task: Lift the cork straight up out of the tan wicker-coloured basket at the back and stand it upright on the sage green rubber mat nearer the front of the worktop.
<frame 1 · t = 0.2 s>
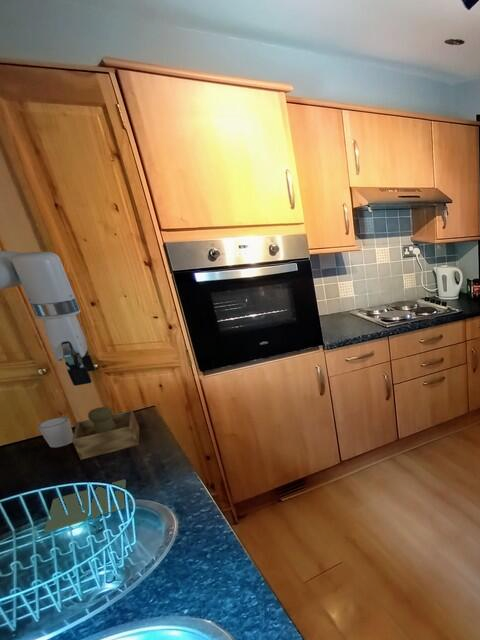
hand: (85, 377, 109), 29 cm above the worktop, tool pointing down, fingers open, 9 cm apart
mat: (88, 504, 110), on the worktop
grey cup: (62, 443, 137), on the worktop
basket: (111, 442, 137), on the worktop
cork: (111, 442, 136), resting on basket
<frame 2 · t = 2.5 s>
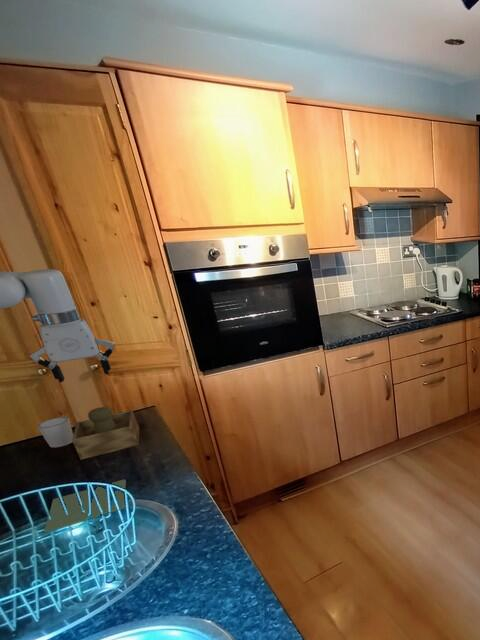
hand: (85, 376, 127), 22 cm above the worktop, tool pointing down, fingers open, 9 cm apart
nothing on the worktop moved.
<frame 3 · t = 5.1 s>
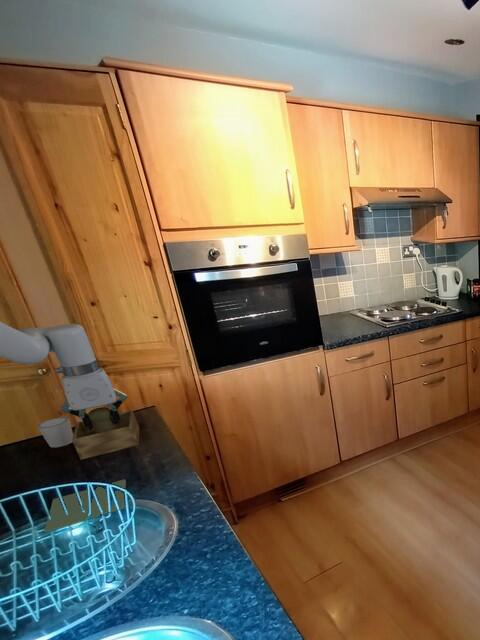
hand: (104, 424, 134), 6 cm above the worktop, tool pointing down, fingers closed on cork, 5 cm apart
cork: (111, 442, 136), resting on basket, touching gripper
everything else where it was.
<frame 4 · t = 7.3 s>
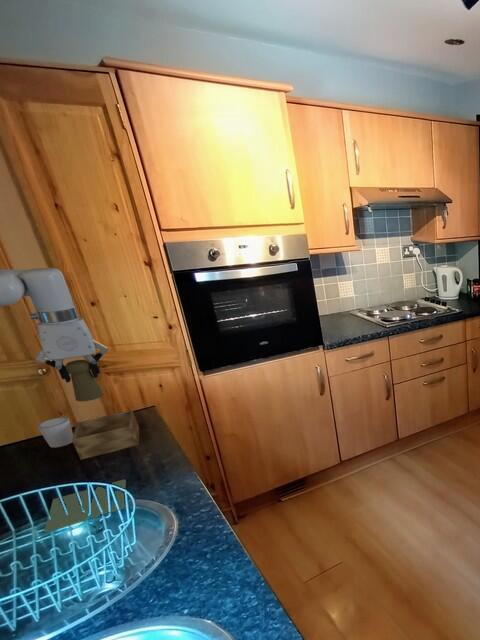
hand: (82, 377, 127), 22 cm above the worktop, tool pointing down, fingers closed on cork, 5 cm apart
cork: (90, 397, 130), point 15 cm above the worktop, touching gripper
everything else where it was.
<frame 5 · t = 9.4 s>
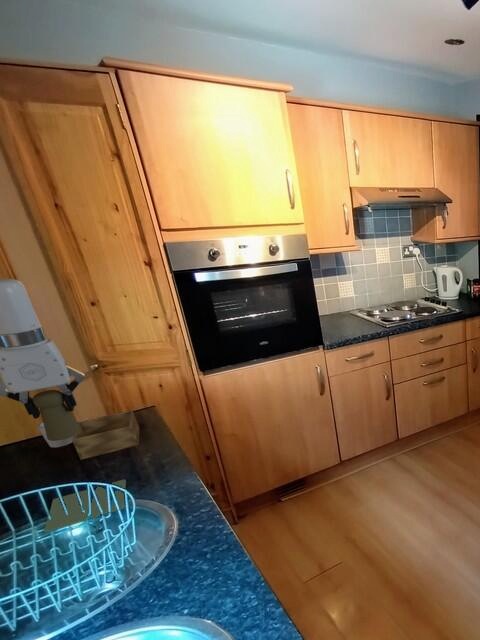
hand: (54, 412, 104), 23 cm above the worktop, tool pointing down, fingers closed on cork, 5 cm apart
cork: (65, 434, 107), point 17 cm above the worktop, touching gripper
everything else where it was.
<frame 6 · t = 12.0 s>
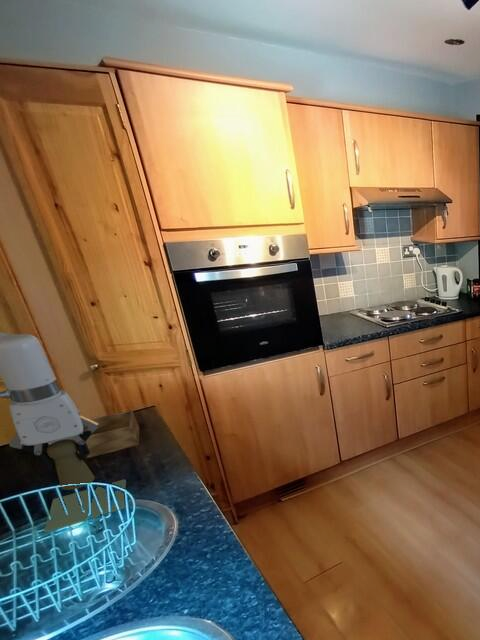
hand: (68, 461, 105), 13 cm above the worktop, tool pointing down, fingers closed on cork, 5 cm apart
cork: (78, 482, 107), point 6 cm above the worktop, touching gripper
everything else where it was.
when the fingers open (7 cm above the worktop, at t = 13.9 s): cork stays where it is, resting on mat.
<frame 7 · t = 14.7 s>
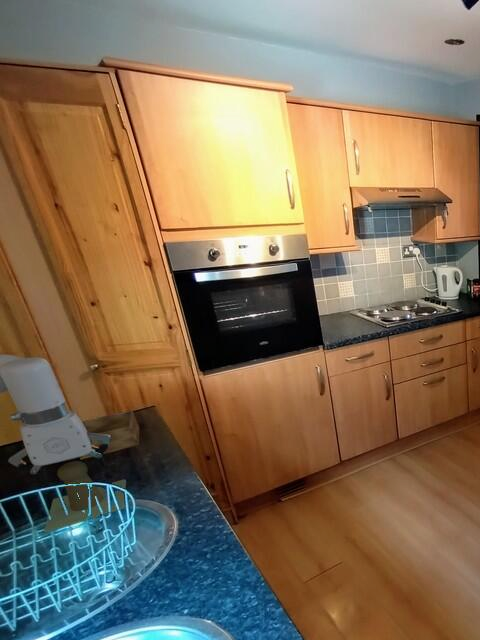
hand: (75, 477, 107), 8 cm above the worktop, tool pointing down, fingers open, 9 cm apart
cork: (87, 503, 110), resting on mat
everything else where it was.
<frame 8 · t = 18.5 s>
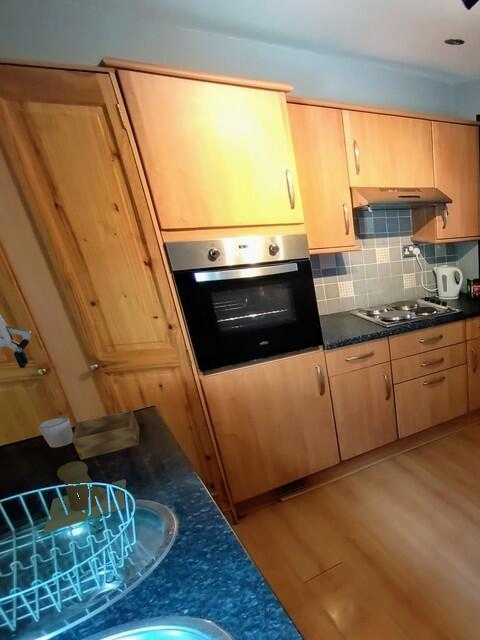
nothing on the worktop moved.
at the end: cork inside the target area on the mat (0.1 cm from its centre), point 0.4 cm above the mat's base; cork tilted 0°; the gripper is holding nothing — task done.
